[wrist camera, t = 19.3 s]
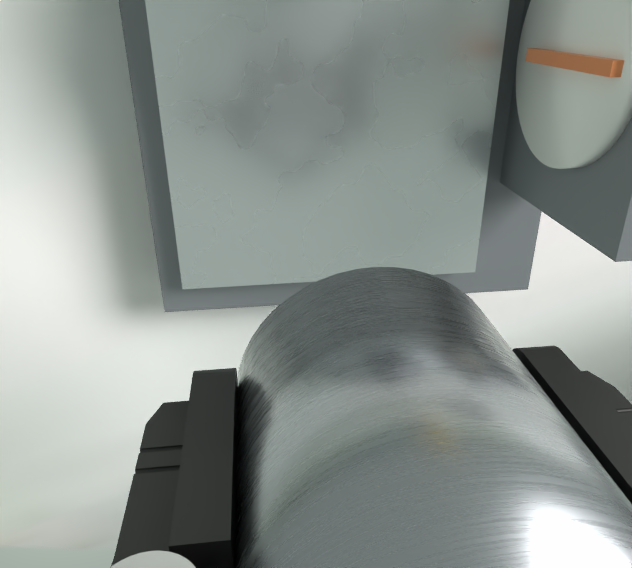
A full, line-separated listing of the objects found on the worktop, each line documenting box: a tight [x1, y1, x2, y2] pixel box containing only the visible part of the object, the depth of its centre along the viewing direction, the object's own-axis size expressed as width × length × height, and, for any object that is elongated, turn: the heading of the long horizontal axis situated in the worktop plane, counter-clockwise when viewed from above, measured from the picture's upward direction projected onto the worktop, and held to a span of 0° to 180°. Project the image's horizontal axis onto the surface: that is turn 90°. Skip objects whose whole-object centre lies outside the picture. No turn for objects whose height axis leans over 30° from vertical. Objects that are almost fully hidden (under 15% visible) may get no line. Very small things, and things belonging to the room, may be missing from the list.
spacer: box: [235, 267, 632, 568], centre depth 8 cm, size 5×5×6 cm
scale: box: [119, 0, 632, 312], centre depth 18 cm, size 16×20×11 cm
